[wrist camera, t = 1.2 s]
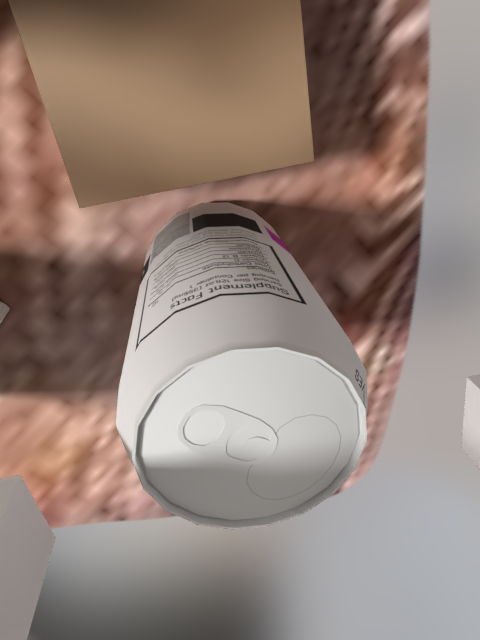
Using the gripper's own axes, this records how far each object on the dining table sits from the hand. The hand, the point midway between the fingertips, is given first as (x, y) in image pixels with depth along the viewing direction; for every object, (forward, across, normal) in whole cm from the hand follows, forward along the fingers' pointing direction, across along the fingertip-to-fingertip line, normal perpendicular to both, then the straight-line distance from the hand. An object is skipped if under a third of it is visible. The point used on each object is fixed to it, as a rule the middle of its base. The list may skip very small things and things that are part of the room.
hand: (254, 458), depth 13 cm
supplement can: (+15, 0, 0) cm, 15 cm away
